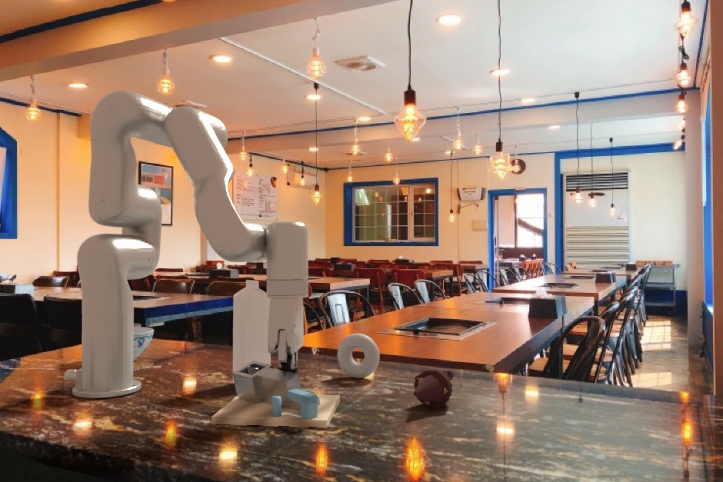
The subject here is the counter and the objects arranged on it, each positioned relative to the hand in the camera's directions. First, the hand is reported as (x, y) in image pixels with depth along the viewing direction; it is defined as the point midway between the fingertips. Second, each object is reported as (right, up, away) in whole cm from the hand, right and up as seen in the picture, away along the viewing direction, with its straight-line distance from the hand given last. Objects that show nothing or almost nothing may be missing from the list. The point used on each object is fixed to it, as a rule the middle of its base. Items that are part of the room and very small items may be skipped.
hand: (288, 390), depth 103 cm
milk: (-10, -4, +17) cm, 20 cm away
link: (-1, -1, -2) cm, 3 cm away
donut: (+13, -4, +23) cm, 27 cm away
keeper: (+2, -3, -10) cm, 11 cm away
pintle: (-7, -2, +1) cm, 7 cm away
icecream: (+26, -3, 0) cm, 27 cm away
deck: (-1, -3, -4) cm, 5 cm away
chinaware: (-48, -4, +42) cm, 64 cm away
